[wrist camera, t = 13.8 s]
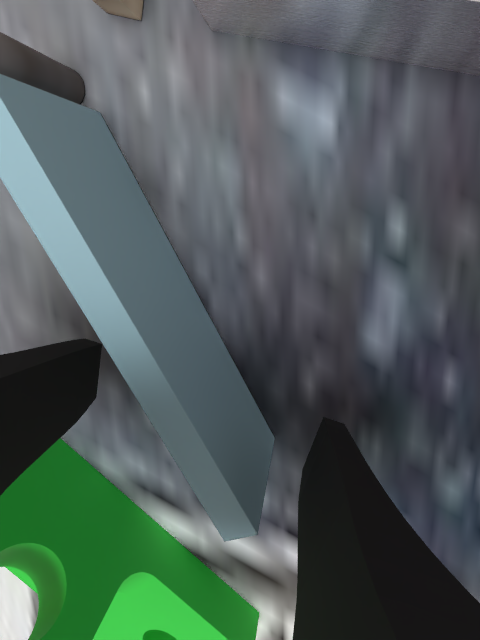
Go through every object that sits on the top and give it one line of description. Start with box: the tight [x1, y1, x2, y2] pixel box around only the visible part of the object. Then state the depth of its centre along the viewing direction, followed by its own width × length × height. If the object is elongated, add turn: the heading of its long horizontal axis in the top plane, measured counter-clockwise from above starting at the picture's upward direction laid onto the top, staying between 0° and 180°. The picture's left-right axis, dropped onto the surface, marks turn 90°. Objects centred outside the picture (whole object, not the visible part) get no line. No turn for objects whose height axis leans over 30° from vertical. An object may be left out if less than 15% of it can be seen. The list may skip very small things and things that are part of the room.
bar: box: [0, 74, 275, 541], centre depth 10 cm, size 1×12×4 cm, turn 27°
